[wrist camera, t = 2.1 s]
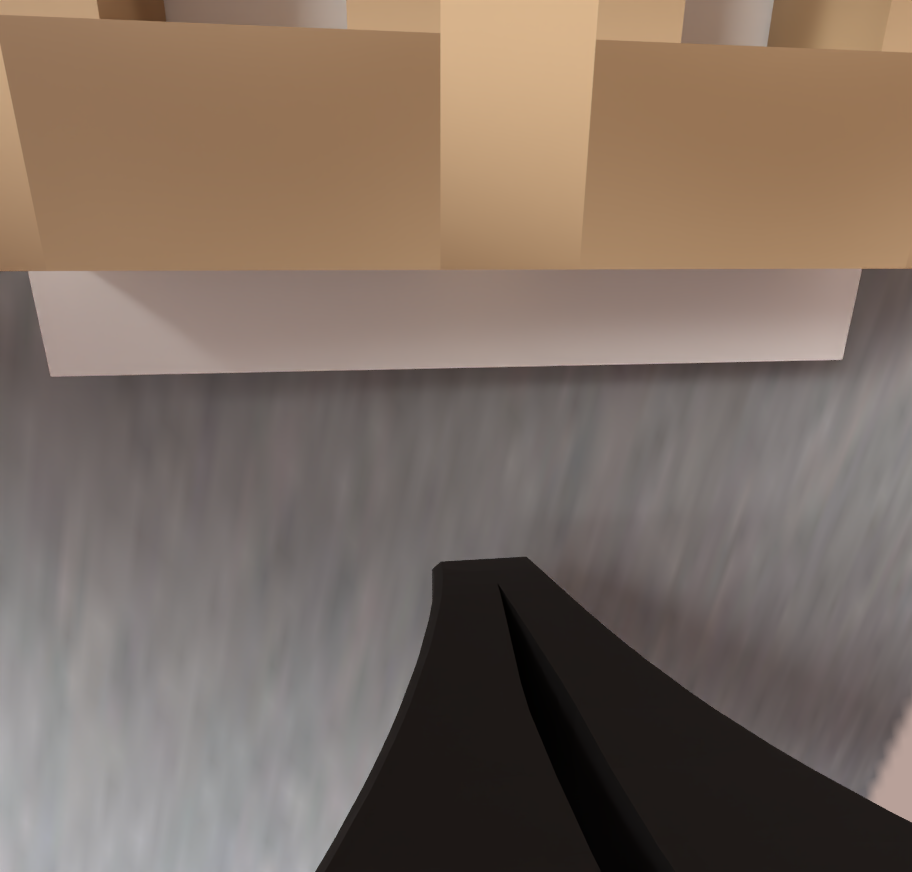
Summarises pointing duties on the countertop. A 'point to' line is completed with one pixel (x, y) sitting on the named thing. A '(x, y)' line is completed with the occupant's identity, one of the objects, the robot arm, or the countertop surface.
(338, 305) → the mounting plate
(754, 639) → the countertop surface
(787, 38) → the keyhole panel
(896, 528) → the countertop surface
